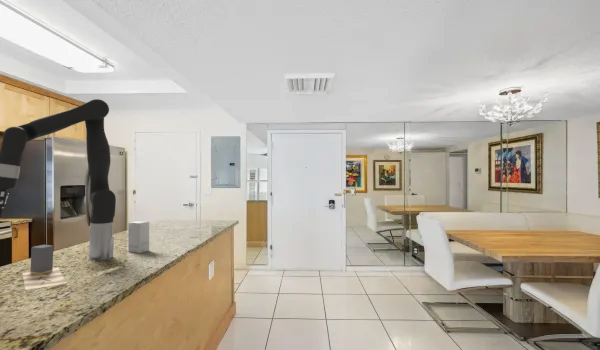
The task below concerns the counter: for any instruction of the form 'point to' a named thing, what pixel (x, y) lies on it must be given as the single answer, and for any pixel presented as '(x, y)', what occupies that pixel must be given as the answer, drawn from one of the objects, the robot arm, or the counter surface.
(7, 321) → the counter surface
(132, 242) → the skincare box
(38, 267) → the block
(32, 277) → the pine board
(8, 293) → the counter surface
